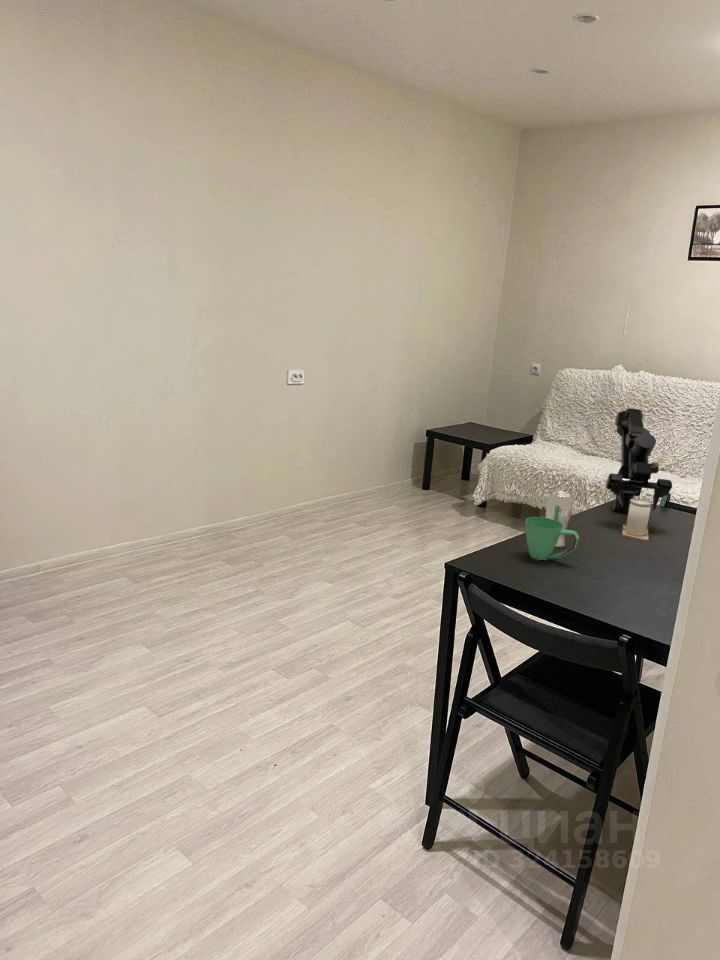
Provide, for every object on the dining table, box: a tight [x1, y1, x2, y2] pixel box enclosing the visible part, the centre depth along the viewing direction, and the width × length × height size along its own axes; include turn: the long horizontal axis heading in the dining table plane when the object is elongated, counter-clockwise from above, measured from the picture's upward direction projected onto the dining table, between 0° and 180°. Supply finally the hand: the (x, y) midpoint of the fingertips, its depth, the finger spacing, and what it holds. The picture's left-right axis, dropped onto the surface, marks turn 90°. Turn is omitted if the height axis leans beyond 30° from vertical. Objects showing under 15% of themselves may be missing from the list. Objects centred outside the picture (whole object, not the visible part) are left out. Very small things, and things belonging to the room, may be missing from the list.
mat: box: [621, 524, 649, 542], centre depth 226 cm, size 12×8×1 cm, turn 160°
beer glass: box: [545, 490, 574, 548], centre depth 209 cm, size 7×7×15 cm
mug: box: [524, 516, 580, 561], centre depth 196 cm, size 15×10×10 cm
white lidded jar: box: [625, 498, 653, 536], centre depth 223 cm, size 6×6×10 cm
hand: (638, 508), depth 224 cm, fingers open, 9 cm apart
